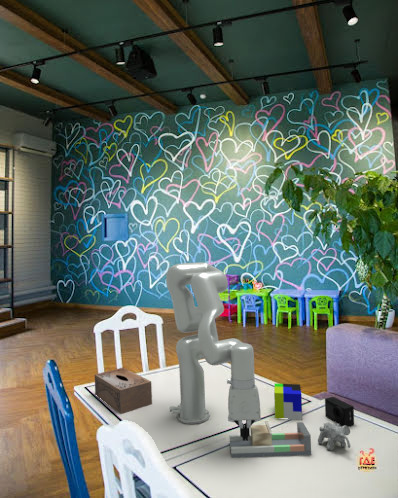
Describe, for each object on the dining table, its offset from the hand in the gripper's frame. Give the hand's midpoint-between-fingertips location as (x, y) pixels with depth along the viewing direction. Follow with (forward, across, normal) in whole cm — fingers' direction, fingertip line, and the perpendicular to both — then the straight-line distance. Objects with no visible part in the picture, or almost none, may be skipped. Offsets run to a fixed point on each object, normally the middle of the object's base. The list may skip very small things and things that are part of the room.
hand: (245, 438), depth 126 cm
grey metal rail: (+4, +8, 0) cm, 8 cm away
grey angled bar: (+3, +19, 0) cm, 19 cm away
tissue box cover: (+4, -49, +44) cm, 66 cm away
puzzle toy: (+4, +19, +25) cm, 32 cm away
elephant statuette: (+4, +30, -1) cm, 30 cm away
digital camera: (+4, +36, +18) cm, 41 cm away
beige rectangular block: (+2, +5, 0) cm, 6 cm away
